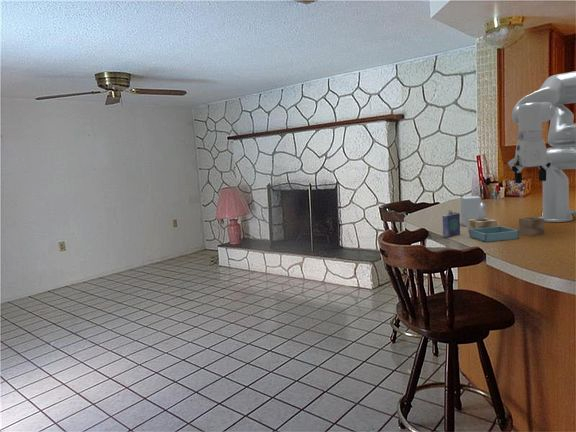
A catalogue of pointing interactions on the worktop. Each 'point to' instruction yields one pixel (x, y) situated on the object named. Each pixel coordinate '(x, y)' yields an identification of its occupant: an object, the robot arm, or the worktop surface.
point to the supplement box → (469, 208)
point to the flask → (451, 224)
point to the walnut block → (531, 226)
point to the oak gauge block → (481, 223)
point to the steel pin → (481, 211)
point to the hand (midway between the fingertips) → (530, 182)
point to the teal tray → (494, 234)
